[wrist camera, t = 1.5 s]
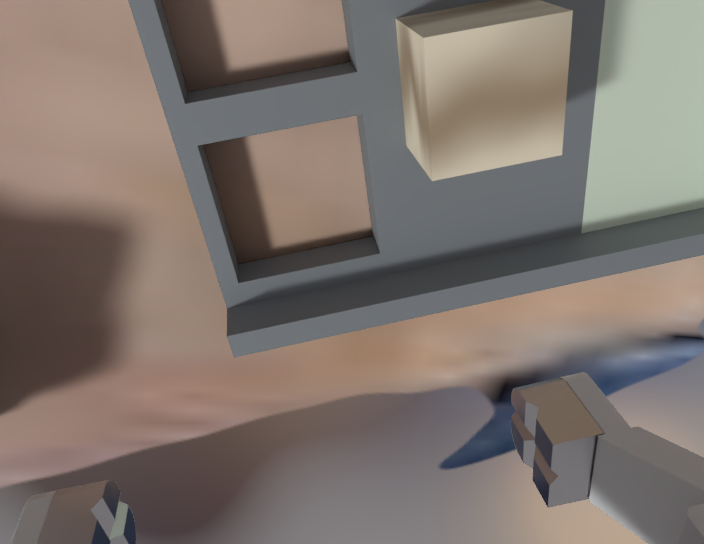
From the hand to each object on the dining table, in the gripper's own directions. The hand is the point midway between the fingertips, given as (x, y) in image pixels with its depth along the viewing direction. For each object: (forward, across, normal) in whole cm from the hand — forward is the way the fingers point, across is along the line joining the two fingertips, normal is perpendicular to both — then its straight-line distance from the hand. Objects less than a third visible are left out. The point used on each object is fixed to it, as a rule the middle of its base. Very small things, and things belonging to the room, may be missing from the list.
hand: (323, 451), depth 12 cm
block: (+19, -10, -2) cm, 21 cm away
